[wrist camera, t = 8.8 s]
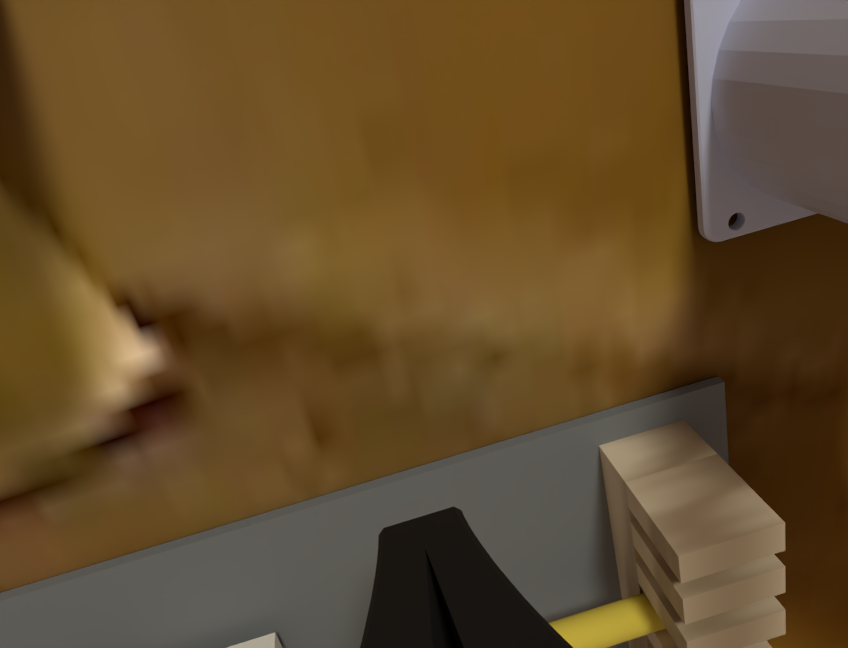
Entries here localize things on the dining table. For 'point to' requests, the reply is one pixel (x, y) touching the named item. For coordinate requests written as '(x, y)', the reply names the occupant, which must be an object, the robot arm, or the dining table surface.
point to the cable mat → (366, 546)
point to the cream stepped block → (261, 642)
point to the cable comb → (693, 541)
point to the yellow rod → (610, 623)
